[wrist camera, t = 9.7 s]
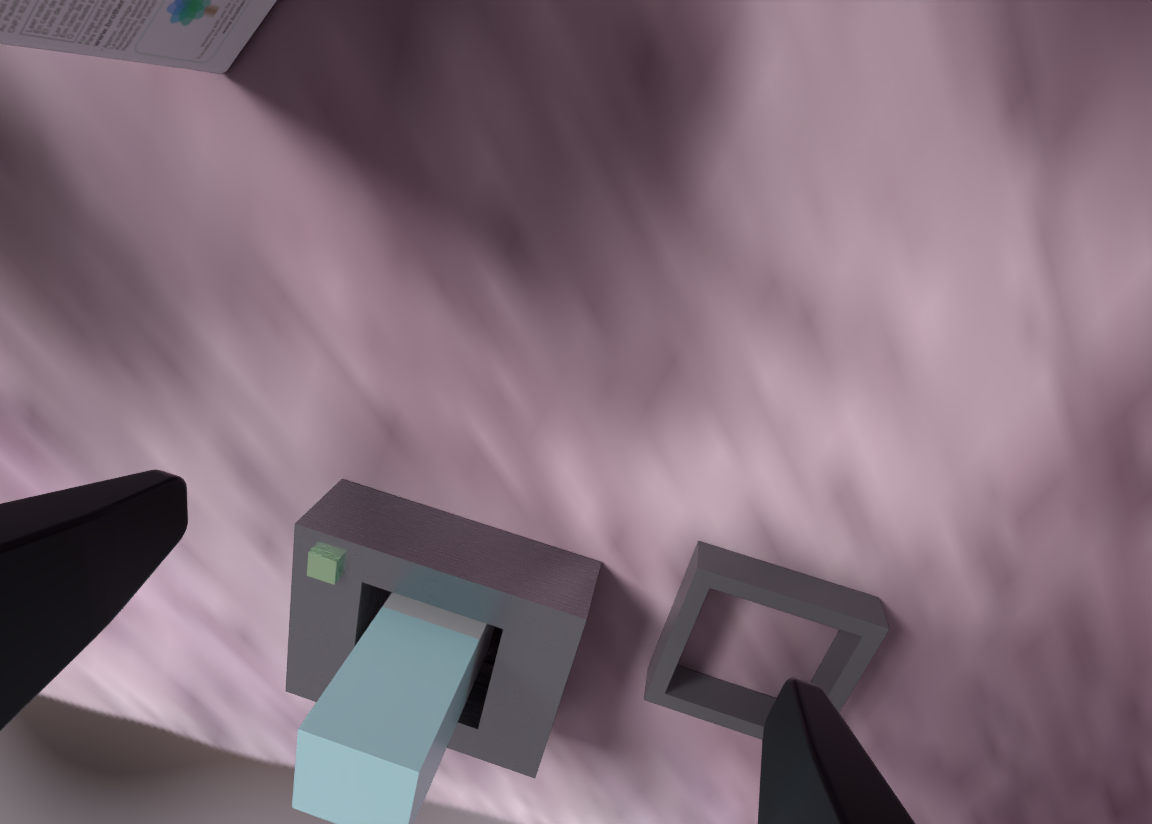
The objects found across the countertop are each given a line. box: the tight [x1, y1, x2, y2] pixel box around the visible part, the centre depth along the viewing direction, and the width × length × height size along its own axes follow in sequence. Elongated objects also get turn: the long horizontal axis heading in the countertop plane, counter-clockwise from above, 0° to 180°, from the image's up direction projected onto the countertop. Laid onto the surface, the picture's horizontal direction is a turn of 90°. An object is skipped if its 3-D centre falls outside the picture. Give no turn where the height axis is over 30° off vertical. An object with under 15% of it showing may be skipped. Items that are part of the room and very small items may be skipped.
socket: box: [286, 479, 601, 778], centre depth 24 cm, size 10×8×3 cm
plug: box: [292, 592, 495, 824], centre depth 22 cm, size 4×4×8 cm
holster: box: [644, 541, 889, 740], centre depth 23 cm, size 6×6×2 cm
